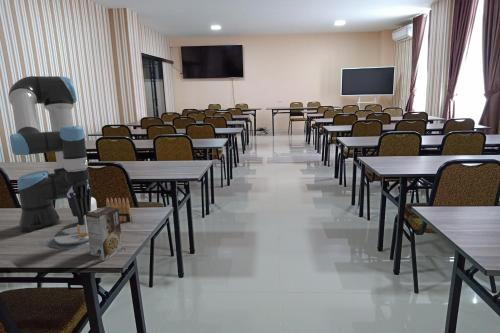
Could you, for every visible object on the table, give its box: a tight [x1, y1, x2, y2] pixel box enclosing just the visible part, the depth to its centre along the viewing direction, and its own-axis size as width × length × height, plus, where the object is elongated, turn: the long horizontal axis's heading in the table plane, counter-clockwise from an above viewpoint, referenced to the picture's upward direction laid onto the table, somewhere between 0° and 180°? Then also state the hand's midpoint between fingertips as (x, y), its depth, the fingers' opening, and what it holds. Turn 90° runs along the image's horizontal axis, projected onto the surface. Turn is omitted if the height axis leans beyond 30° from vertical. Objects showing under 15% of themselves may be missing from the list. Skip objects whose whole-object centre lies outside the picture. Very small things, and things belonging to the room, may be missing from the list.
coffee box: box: [86, 205, 124, 262], centre depth 119 cm, size 9×6×16 cm
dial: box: [53, 223, 89, 246], centre depth 130 cm, size 14×14×6 cm
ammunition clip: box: [106, 197, 133, 224], centre depth 148 cm, size 11×2×12 cm, turn 85°
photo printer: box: [89, 196, 98, 212], centre depth 146 cm, size 10×4×12 cm, turn 11°
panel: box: [38, 237, 90, 252], centre depth 131 cm, size 18×17×2 cm
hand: (84, 232), depth 126 cm, fingers closed
